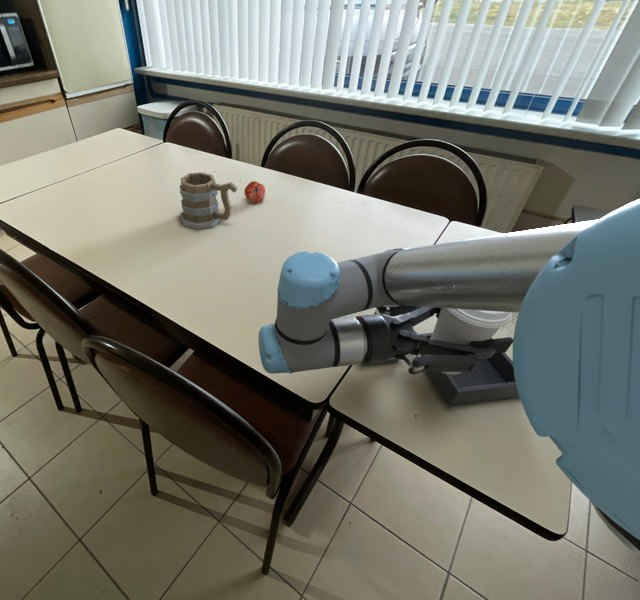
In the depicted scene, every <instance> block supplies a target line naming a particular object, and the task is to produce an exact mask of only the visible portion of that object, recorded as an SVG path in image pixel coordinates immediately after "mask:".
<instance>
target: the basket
mask: <svg viewBox="0 0 640 600" xmlns="http://www.w3.org/2000/svg"><path fill="white" fill-rule="evenodd" d="M432 333H433V331H432V332H423V333H419V334H420V335H425V336H427V337H428V338H429V339H431V336H432ZM491 339H493V337H492V338H491ZM419 343H420V342H419ZM419 343H418V345H419ZM418 345H417V347H418ZM415 356H417V355H415ZM422 356H424V355H422ZM426 373H427V375H428V377H429V378H430V380H431V381H432V383H433V384H434V386H435V387H436V389H437V390H438V392H439V393H440V395H441V396H442V398H443V401H445V403H446V404H447V406H448V407H456V406H462V405H464V406H465V405H472V404H479V403H480V404H481V403H488V402H495V401H496V402H497V401H504V400H511V399H520V397H519V393H518V389H517V386H516V381H515V376H514V368H513V359H511V358H510V356H509V355H508V354H507V353H506V352H503V353H495V354H493V356H492V357H490V358H484V359H480V362H479V364H478V365H477V367H476V368H475V369H474V371H473V372H461V373H459V374H454V375H452V374H446V373H442V372H426Z"/></svg>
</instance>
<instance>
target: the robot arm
mask: <svg viewBox="0 0 640 600" xmlns="http://www.w3.org/2000/svg"><path fill="white" fill-rule="evenodd" d="M276 301H277V303H276V318H275V321H274V323H270V324H268V325H262V326H261V327H260V329H259V331H258V351H259V357H260V362H261V365H262V367H263V370H264V372H266V373H268V374H271V375H273V374H293V373H300V372H301V373H302V372H307V371H315V370H322V369H330V368H338V367H344V366H345V367H346V366H355V365H361V364H360V363H361V362H362V363H364V364H366V363H375V362H383V361H386V360H388V359H391V358H395V359H399V361H404V362H405V364H406V365H407V366H408V367H409V368H408V370H407V371H408V373H409V374H410V375H413V376H416V375H418V374H422V373H424V372H425V373H427V372H473V371H474V369H475V368H476V367H477V365H478V364H479V362H480V359H484V358H490V357H492V356H493V354H495V353H503V352H505V353H506V352H507V351H508V350H509V349H510V347H511V345H512V354H511V355H512V361H513V368H514V376H515V381H516V386H517V389H518V393H519V397H520V398H519V399H520V402H521V405H522V407H523V410H524V413H525V415H526V417H527V419H528V421H529V424H530V427H532V429H533V431H534V433H535V434H536V435H537V436H538V437H542V438H546V437H548V438H549V439H550V440H551V441H552V442H553V444H554V445H555V446H556V447H557V449H558V450H559V451H560V452H561V455H560V456H558V457H556V460H555V464H556V465H557V467H558V468H559V469H560V470H561V471H562V472H563V474H564V475H565V476H566V477H567V478H568V480H569V481H570V482H571V483H572V484H573V485H574V486H575V487H576V488H577V489H578V491H580V493H582V495H583V496H585V498H587V499H588V500H589V501H590V504H591V505H592V506H593V509H594V510H595V513H596V514H597V516H598V517H599V518H600V520H601V521H602V522H603V524H605V526H606V528H607V529H608V530H610V532H611V533H612V534H614V536H615V537H616V538H617V539H618V540H619V541H620V542H621V543H622V544H623V545H624V546H625V547H626V548H628V549H629V550H630V552H632V553H633V554H635V555H636V560H637V583H638V600H640V198H638V199H636V200H634V201H630V202H629V203H627V204H625V205H623V206H621V207H619V208H616V209H614V210H613V211H610V212H609V213H607V214H606V215H604V216H602V217H601V218H599V219H594V220H587V221H586V220H585V221H579V222H574V223H566V224H560V225H555V226H554V225H553V226H548V227H542V228H541V227H540V228H535V229H528V230H522V231H521V230H520V231H514V232H508V233H501V234H495V235H489V236H482V237H481V236H480V237H477V238H469V239H462V240H455V241H450V242H443V243H436V244H430V245H422V246H416V247H403V248H402V247H401V248H399V247H398V248H393V249H387V250H385V251H383V252H379V253H374V254H370V255H366V256H362V257H358V258H354V259H349V260H343V261H339V262H336V260H335V259H333V257H331V256H329V255H327V254H325V253H322V252H319V251H318V252H317V251H315V252H309V251H308V250H307V251H306V250H305V251H300V252H296V253H294V254H292V255H290V256H289V257H287V259H286V260H285V261H284V262H283V264H282V266H281V270H280V274H279V280H278V285H277V300H276ZM441 308H452V309H467V310H483V311H499V312H512V313H516V314H517V317H516V321H515V326H514V332H513V337H511V336H507V337H500V338H499V337H498V338H492V339H489V340H485V341H472V342H471V343H470V345H469V346H468V345H463V344H457V343H451V342H446V341H440V340H434V339H429V338H428V337H427V336H425V335H420V334H421V333H418V332H417V331H416V330H414V327H415V326H417V325H419V324H421V323H423V322H424V321H426V320H429V319H430V318H432V317H436V320H438V317H439V314H440V311H441ZM372 309H374V313H373V314H363V315H357V316H355V317H354V316H349V315H353V314H357V313H361V312H365V311H367V310H372ZM419 342H420V343H419ZM418 343H419V345H418ZM417 345H418V347H417ZM416 355H417V356H416ZM422 355H424V356H422Z"/></svg>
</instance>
